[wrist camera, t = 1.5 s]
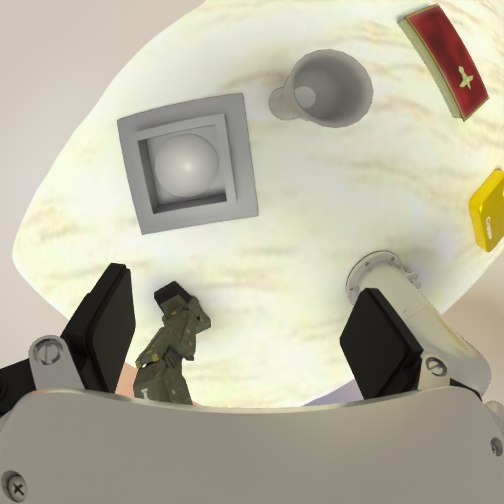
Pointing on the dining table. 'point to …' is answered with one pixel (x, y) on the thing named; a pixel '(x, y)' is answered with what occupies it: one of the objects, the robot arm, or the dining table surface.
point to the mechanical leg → (170, 347)
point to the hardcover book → (446, 60)
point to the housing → (189, 163)
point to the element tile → (488, 211)
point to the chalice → (324, 90)
